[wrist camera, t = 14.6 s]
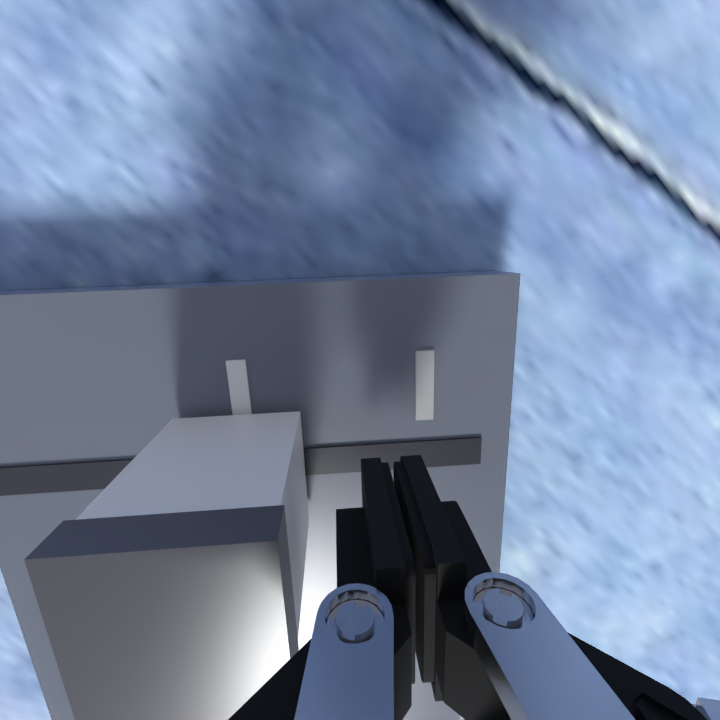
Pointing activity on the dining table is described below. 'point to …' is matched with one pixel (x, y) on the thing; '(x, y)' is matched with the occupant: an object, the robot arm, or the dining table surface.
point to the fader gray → (181, 573)
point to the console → (255, 403)
